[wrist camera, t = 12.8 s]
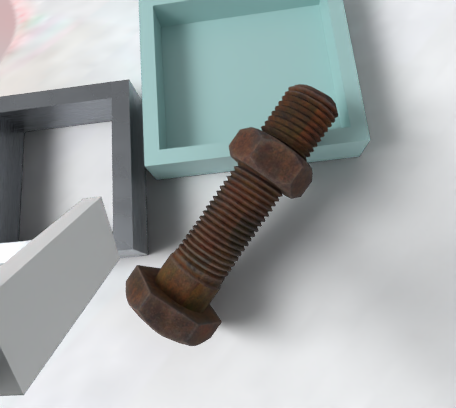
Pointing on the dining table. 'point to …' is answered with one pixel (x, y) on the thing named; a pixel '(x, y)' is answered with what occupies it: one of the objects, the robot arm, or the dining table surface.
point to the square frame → (70, 116)
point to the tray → (240, 77)
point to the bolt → (232, 217)
